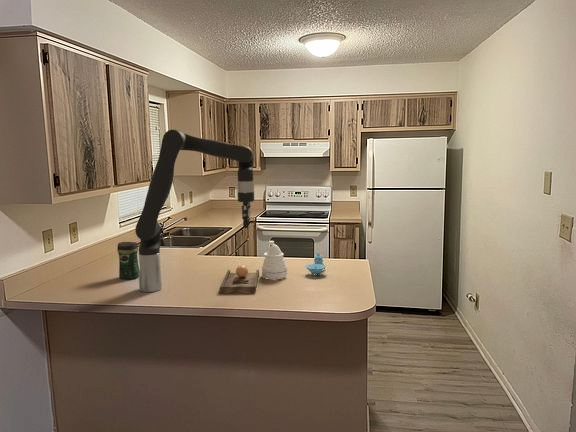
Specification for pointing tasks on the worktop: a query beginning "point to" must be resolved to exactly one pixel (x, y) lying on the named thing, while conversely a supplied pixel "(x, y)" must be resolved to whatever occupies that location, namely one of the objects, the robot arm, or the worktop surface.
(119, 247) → the coffee jar
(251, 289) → the track
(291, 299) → the worktop surface
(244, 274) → the ball
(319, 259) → the light blue flared piece
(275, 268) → the honey pot
